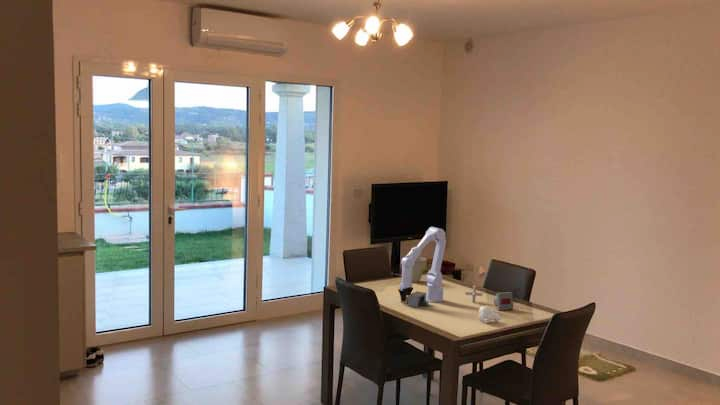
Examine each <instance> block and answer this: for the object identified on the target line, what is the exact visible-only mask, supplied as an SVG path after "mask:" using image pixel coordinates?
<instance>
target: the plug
mask: <svg viewBox="0 0 720 405" xmlns="http://www.w3.org/2000/svg"><path fill="white" fill-rule="evenodd" d="M408 297H409V295H406V300H405V302H403V301H401V300H400V303H401V304H406V305H408ZM420 307H425V308H427V307H429V301H427V300H426V301H421V300H420Z"/></svg>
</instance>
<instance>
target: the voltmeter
mask: <svg viewBox="0 0 720 405" xmlns="http://www.w3.org/2000/svg"><path fill="white" fill-rule="evenodd" d="M520 289H521V288H517V289H515V290H513V291H512V292H509V291H507V292H496V295H495V296H494V297H493V305H494V306H495V307H496V309H497V311H507V310H509V309H511V310H514V305H515V304H516V303H517V302H519V300H517V298H518V297H520V295H518V292H517V291H520Z"/></svg>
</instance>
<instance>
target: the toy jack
mask: <svg viewBox="0 0 720 405" xmlns="http://www.w3.org/2000/svg"><path fill="white" fill-rule="evenodd" d="M465 295H467V296H472V298H471V302H472V303H476V297H477V296H478V297H479V296H480V297H483V296H484V293H482V292H477V285H472V291H465Z"/></svg>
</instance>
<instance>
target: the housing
mask: <svg viewBox="0 0 720 405" xmlns="http://www.w3.org/2000/svg"><path fill="white" fill-rule="evenodd" d="M426 298H427V292H424V291H418V290H416V291H414V292H411V294H410V295H409V297H408V303H407V307H411V308H416V309H418V308H420V307H421V306H420V300H421V301H427V300H426Z"/></svg>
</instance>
